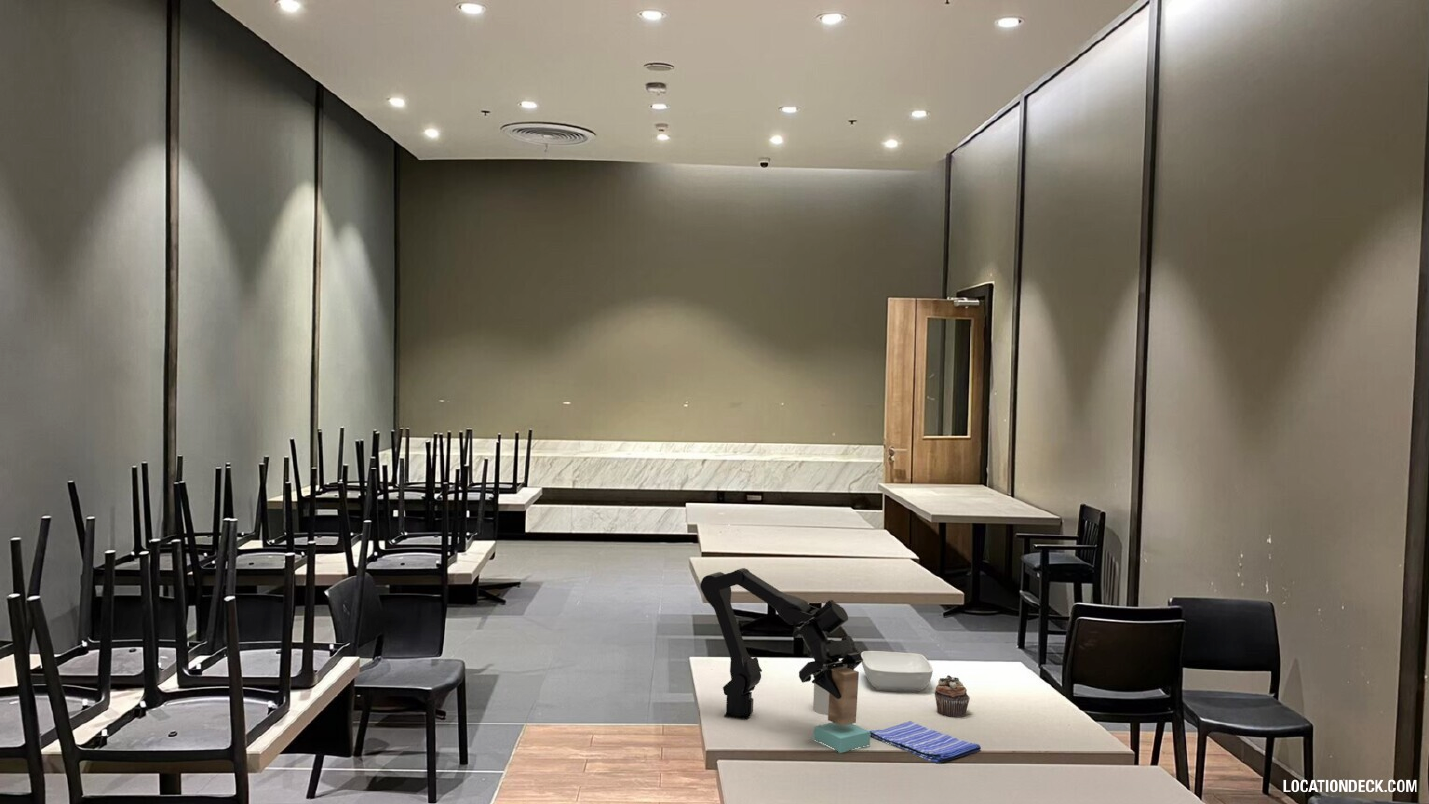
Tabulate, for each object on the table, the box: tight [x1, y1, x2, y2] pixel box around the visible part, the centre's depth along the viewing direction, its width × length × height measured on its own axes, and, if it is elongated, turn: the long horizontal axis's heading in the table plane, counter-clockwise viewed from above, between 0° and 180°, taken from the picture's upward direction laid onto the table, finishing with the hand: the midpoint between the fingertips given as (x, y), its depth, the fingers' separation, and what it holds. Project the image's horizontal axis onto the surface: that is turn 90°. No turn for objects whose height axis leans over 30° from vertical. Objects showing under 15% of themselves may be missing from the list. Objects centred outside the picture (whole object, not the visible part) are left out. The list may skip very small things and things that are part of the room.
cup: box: [812, 665, 835, 716], centre depth 293 cm, size 8×8×12 cm
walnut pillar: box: [827, 667, 860, 726], centre depth 267 cm, size 5×5×13 cm
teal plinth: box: [813, 722, 871, 754], centre depth 267 cm, size 10×10×4 cm
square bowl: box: [860, 650, 934, 693], centre depth 320 cm, size 20×20×8 cm
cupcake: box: [934, 675, 971, 718], centre depth 295 cm, size 10×10×10 cm
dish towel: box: [869, 720, 982, 764], centre depth 269 cm, size 17×24×3 cm
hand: (847, 696), depth 266 cm, fingers closed on walnut pillar, 5 cm apart
